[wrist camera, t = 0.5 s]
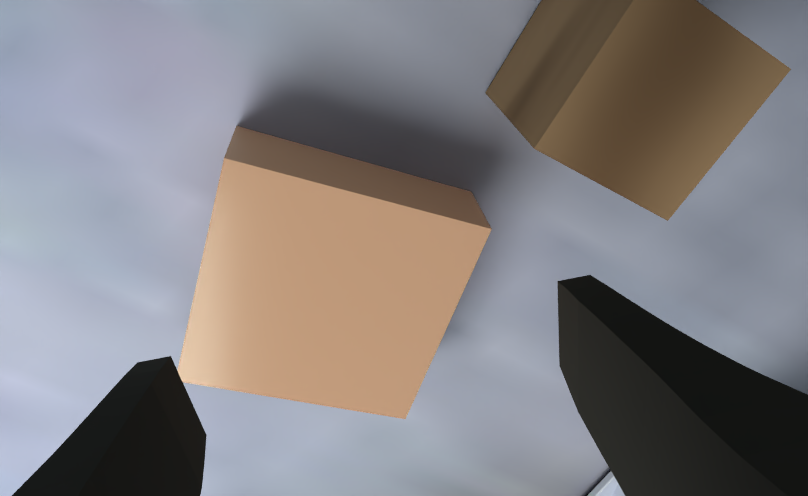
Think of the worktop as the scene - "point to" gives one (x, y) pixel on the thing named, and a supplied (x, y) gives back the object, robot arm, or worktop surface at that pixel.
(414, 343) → the peach slab
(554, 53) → the walnut block
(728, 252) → the worktop surface
